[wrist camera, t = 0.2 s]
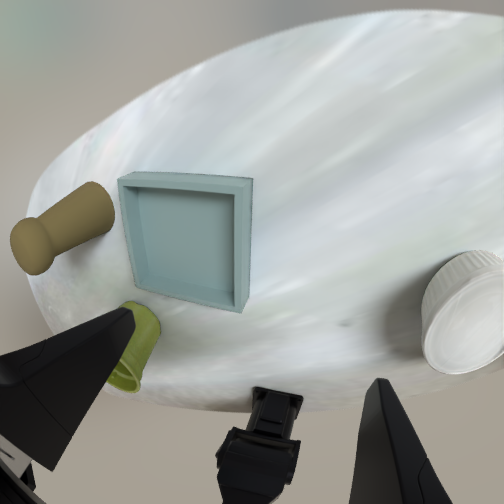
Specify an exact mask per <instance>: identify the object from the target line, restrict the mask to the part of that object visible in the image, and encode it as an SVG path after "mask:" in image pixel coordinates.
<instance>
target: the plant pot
mask: <svg viewBox="0 0 504 504" xmlns="http://www.w3.org/2000/svg"><path fill="white" fill-rule="evenodd" d="M120 307H126V308H129V309H131V310H132V311H133V314H134V318H135V323H136V329H135V331H134V333H133V335H132V337H131V339H130V341H129V343H128V345H127V347H126V349H125V351H124V353H123V355H122V357H121V359H120V360H119V362H118V364H117V365H116V367H115V368H114V370H113V371H112V373H111V375H110V376H109V378H108V379H107V381H106V382H107V383H109V384H110V385H112V386H114V387H115V388H117V389H119V390H122V391H125V392H128V393H136V392H138V391H139V389H140V386H141V384H140V380H141V378H142V371H143V369H144V367H145V365H146V363H147V360H148V358H149V356H150V354H151V352H152V350H153V348H154V346H155V344H156V342H157V340H158V338H159V336H160V334H161V331H160V323H159V321H158V319H157V318H156V316H155V315H154V314H153V313H152V312H151V311H150V310H149V309H148V308H146V307H145V306H143V305H138V304H136V303H135V302H134V301H128V302H125V303H124V304H123V305H121V306H120ZM120 307H119V308H120ZM117 309H118V308H117Z"/></svg>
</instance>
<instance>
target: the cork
mask: <svg viewBox="0 0 504 504" xmlns="http://www.w3.org/2000/svg"><path fill="white" fill-rule="evenodd" d="M114 220H115V211H114V206H113V202H112V200H111V198H110V196H109V194H108V193H107V191H106V190H105V189H104V188H103V187H102V186H101V185H100V184H98V183H96V182H93V181H92V182H86V183H85V184H83V185H82V186H80V187H79V188H77V189H76V190H74V191H73V192H72V193H70V194H69V195H67V196H66V197H64V198H63V199H62V200H60V201H59V202H57V203H56V204H55V205H53V206H52V207H51V208H49V209H48V210H47V211H45V212H44V213H43V214H41V215H40V216H39V217H38V218H33V217H29V218H25V219H23V220H21V221H19V222H18V223H17V224H16V225H15V226H14V228H13V229H12V231H11V235H10V244H11V249H12V252H13V255H14V257H15V259H16V261H17V263H18V264H19V266H20V267H21V268H22V269H23V270H24V271H25V272H26V273H28V274H29V275H39V274H41V273H44V272H45V271H46V270H48V269H49V268H50V266H51V265H52V263H53V261H54V258H55V256H57V255H59V254H61V253H63V252H65V251H67V250H69V249H71V248H73V247H76V246H78V245H80V244H82V243H84V242H86V241H88V240H90V239H92V238H94V237H97V236H99V235H101V234H103V233H105V232H107V231H109V230H110V229H111V228H112V226H113V224H114Z"/></svg>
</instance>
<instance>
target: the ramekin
mask: <svg viewBox="0 0 504 504" xmlns="http://www.w3.org/2000/svg"><path fill="white" fill-rule="evenodd" d="M421 317H422V336H421V347H422V351H423V355H424V358H425V360H426V362H427V363H428V364H429V365H430V366H431V367H432V368H433V369H435V370H437V371H439V372H441V373H444V374H462V373H467V372H471V371H474V370H477V369H479V368H481V367H483V366H485V365H487V364H489V363H491V362H492V361H494V360H495V359H497V358H498V357H499V356H501V355H502V354H503V353H504V261H503V260H502V259H501V258H500V257H498V256H496V255H495V254H493V253H490V252H488V251H481V250H479V251H476V250H475V251H469V252H466V253H463V254H461V255H458V256H457V257H455V258H453V259H452V260H450V261H449V262H448V263H446V264H445V265H444V266H443V267H442V268H441V269H440V270H439V271H438V272H437V273H436V274H435V275H434V277H433V278H432V280H431V281H430V283H429V284H428V287H427V288H426V290H425V293H424V296H423V300H422V306H421Z"/></svg>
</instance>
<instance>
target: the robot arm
mask: <svg viewBox="0 0 504 504" xmlns="http://www.w3.org/2000/svg"><path fill="white" fill-rule="evenodd" d="M135 329H136V323H135V318H134V314H133V311H132V310H131V309H129V308H126V307H120V308H118V309H115V310H113V311H111V312H108V313H106V314H104V315H101V316H99V317H97V318H94V319H92V320H90V321H87V322H85V323H83V324H80V325H78V326H76V327H73V328H71V329H69V330H66V331H64V332H62V333H59V334H57V335H55V336H52V337H50V338H48V339H47V340H46V339H45V340H43V341H41V342H39V343H36V344H33V345H31V346H28V347H25V348H23V349H20V350H17V351H14V352H10V353H7V354H4V355H1V356H0V504H46V503H45V502H44V501H43V500H41V499H40V498H39V497H38V496H37V495H36V494H35V493H33V491H34V489H35V488H36V485H35V480H34V475H33V470H32V464H31V461H32V459H33V460H35V461H36V462H38V463H39V464H41V465H42V466H44V467H45V468H47V469H48V470H50V471H53V470H54V469H55V467H56V465H57V463H58V461H59V460H60V458H61V456H62V454H63V453H64V451H65V449H66V447H67V445H68V444H69V442H70V440H71V439H72V436H73V435H74V433H75V431H76V430H77V428H78V426H79V425H80V423H81V421H82V419H83V418H84V416H85V414H86V413H87V411H88V410H89V408H90V406H91V405H92V403H93V402H94V400H95V398H96V397H97V395H98V393H99V392H100V390H101V389H102V387H103V386H104V384H105V382H106V381H107V379H108V378H109V376H110V375H111V373H112V371H113V370H114V368H115V367H116V365H117V364H118V362H119V360H120V359H121V357H122V355H123V353H124V351H125V349H126V347H127V345H128V343H129V341H130V339H131V337H132V335H133V333H134V331H135ZM302 402H303V397H302V396H299V395H293V394H288V393H283V392H278V391H273V390H268V389H264V388H259V387H255V388H254V393H253V407H252V410H253V411H252V414H251V417H250V420H249V422H248V425H247V428H246V430H242V429H238V428H236V427H233V428H232V430H230V431H229V432H228V434H227V436H226V439H225V441H224V442H223V444H222V445H221V447H220V448H219V450H218V451H217V453H216V455H215V456H216V458H217V468H218V469H219V472H218V474H217V480H218V484H219V488H220V492H221V495H222V498H223V503H222V504H272V503H273V502H274V501H275V500H276V499H278V497H279V496H280V495H281V493H282V491H283V488H284V485H285V484H286V485H290V484H291V481H292V478H293V475H294V472H295V468H296V464H297V458H298V454H299V449H300V443H301V441H300V440H297V441H296V440H290V436H291V432H292V427H293V423H294V420H295V419H297V416H298V413H299V410H300V408H301V405H302ZM349 504H453V503H452V501H451V500H450V498H449V497H448V495H447V493H446V491H445V490H444V488H443V486H442V485H441V482H440V481H439V479H438V477H437V475H436V473H435V471H434V469H433V467H432V465H431V463H430V461H429V459H428V458H427V454H426V453H425V450H424V448H423V446H422V444H421V442H420V440H419V438H418V436H417V434H416V432H415V430H414V428H413V426H412V424H411V422H410V420H409V418H408V416H407V414H406V412H405V410H404V408H403V406H402V405H401V403H400V401H399V399H398V397H397V395H396V393H395V391H394V389H393V387H392V386H391V384H390V382H389V380H388V379H384V378H376V379H375V381H374V382H373V383H372V385H371V386H370V388H369V389H368V390H367V392H366V395H365V401H364V407H363V412H362V418H361V423H360V428H359V433H358V442H357V452H356V461H355V468H354V476H353V482H352V488H351V494H350V500H349Z"/></svg>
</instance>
